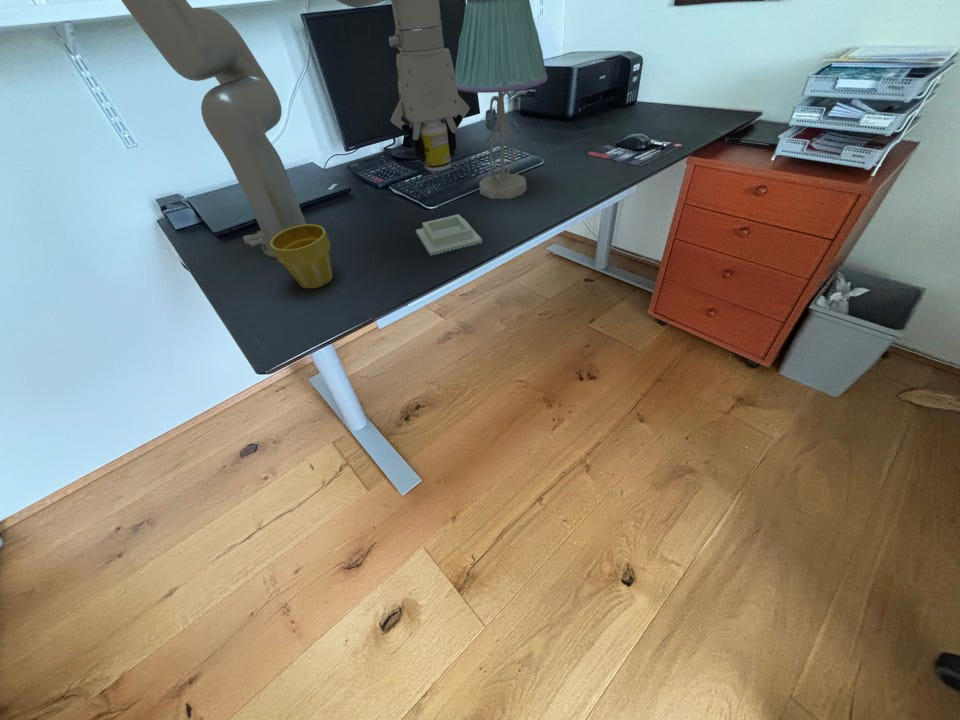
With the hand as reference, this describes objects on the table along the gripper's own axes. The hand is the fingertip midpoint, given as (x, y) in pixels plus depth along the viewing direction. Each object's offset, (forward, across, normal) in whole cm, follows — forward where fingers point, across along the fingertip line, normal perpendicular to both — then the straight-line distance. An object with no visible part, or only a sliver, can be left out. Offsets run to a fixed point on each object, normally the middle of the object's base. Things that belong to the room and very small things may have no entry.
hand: (436, 156), depth 80 cm
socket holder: (+17, 0, 0) cm, 17 cm away
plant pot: (+18, -30, -4) cm, 35 cm away
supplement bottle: (+2, 0, 0) cm, 2 cm away
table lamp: (+18, +22, +19) cm, 34 cm away
